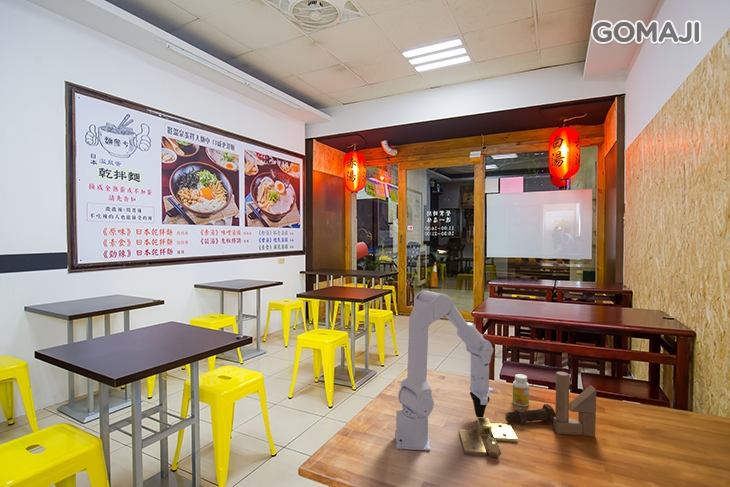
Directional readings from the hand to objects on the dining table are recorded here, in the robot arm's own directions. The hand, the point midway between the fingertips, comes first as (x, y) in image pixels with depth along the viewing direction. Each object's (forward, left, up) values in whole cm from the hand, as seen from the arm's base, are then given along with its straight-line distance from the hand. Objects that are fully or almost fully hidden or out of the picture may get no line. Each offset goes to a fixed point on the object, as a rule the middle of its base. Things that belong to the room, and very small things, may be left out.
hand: (479, 416), depth 118 cm
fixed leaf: (-3, -14, -1) cm, 14 cm away
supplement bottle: (+17, +13, -1) cm, 22 cm away
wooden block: (+27, -5, -1) cm, 27 cm away
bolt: (+15, 0, -2) cm, 16 cm away
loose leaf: (+3, -8, -1) cm, 8 cm away
